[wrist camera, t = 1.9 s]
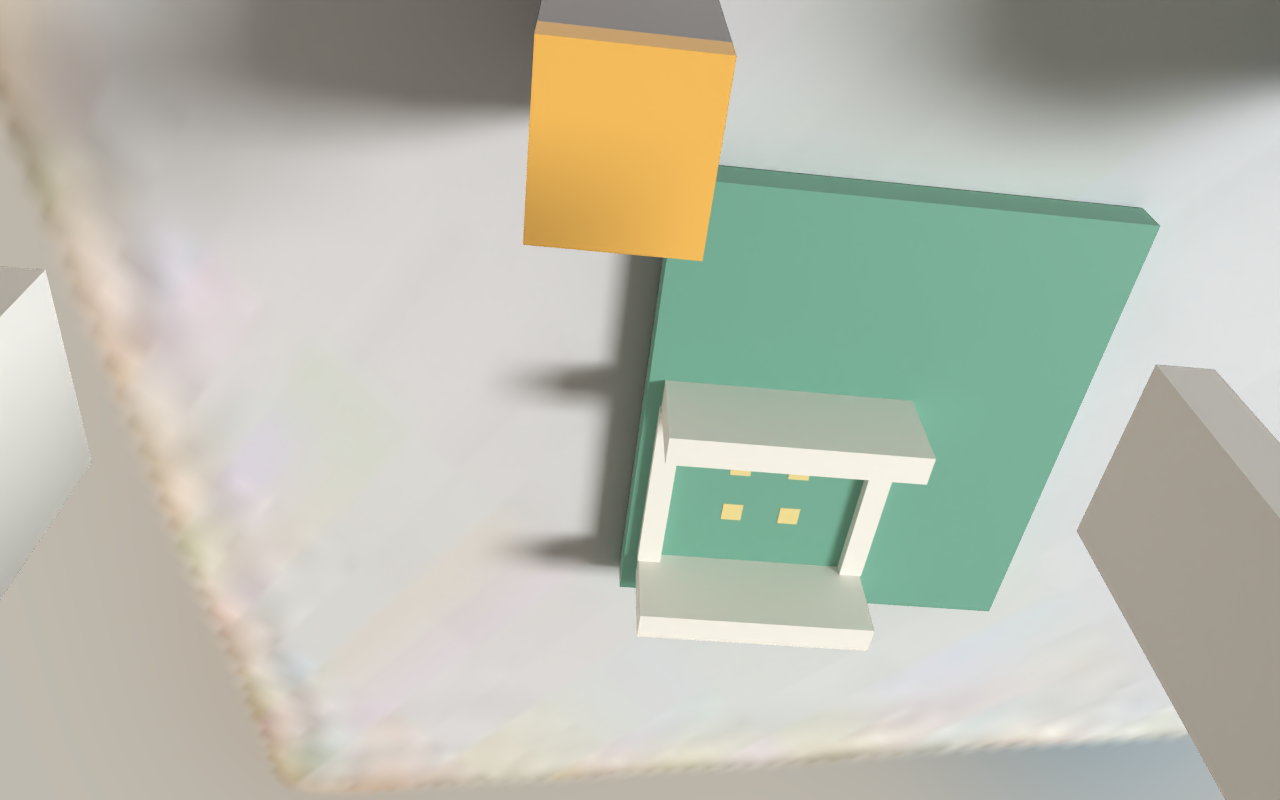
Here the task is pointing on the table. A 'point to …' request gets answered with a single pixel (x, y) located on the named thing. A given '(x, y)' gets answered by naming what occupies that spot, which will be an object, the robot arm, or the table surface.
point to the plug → (626, 125)
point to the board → (860, 400)
